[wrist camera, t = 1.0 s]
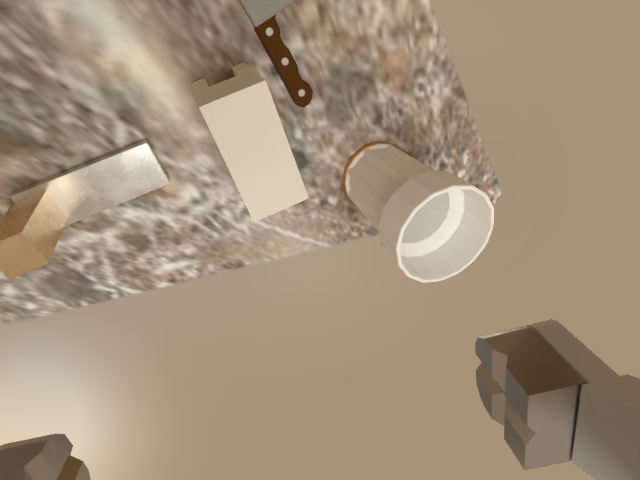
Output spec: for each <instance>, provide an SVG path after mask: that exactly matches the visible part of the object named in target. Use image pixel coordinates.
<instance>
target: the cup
mask: <svg viewBox="0 0 640 480" xmlns="http://www.w3.org/2000/svg"><path fill="white" fill-rule="evenodd" d="M343 183H344V188H345V192H346V194H347V195H348V196H349V197H350V199H351V200H352V201H353V202H354V203H355V205H356V206H357V207H358V208H359V209H360V211H361V212H362V213H363V214H364V216H365V217H366V218H367V219H368V220H369V222H370V223H371V224H372V225H373V226H374V228H375V229H376V230H377V231H378V233H379V234H380V239H381V244H382V245H383V247H384V248H385V249H386V250H387V252H388V253H389V254H390V255H391V257H392V258H393V259H394V261H395V262H396V263H397V264H398V265H399V267H400V268H401V269H402V270H403V271H404V273H405V274H406V275H407V276H408V277H409V278H412V279H415V280H417V281H420V282H433V281H442V280H444V279H446V278H449V277H451V276H454V275H456V274H458V273H460V272H461V271H462V270H463V269H464V268H466V267H467V266H468V265H469V264H471V263H472V262H473V261H474V260H475V259H476V258H477V256H478V255H479V254H480V252H481V251H482V250H483V249H484V247H485V246H486V244H487V242H488V240H489V237H490V234H491V232H492V229H493V226H494V207H493V205H492V203H491V201H490V199H489V198H488V196H487V194H486V193H484V192H483V191H481V190H479V189H478V188H476V187H474V186H473V185H471V184H469V183H467V182H466V181H464V180H462V179H460V178H458V177H457V176H455V175H453V174H451V173H449V172H448V171H435V170H433V169H432V168H430V167H428V166H427V165H425V164H423V163H421V162H420V161H418V160H416V159H415V158H413V157H411V156H409V155H408V154H406V153H404V152H403V151H401V150H399V149H397V148H396V147H394V146H393V145H391V144H389V143H384V142H375V143H372V144H369V145H366V146H363V147H362V148H361V149H360V150H358V151H357V152H356V153H355V154H354V155H353V156H352V157H351V159H350V160H349V162H348V164H347V166H346V167H345V171H344V178H343Z"/></svg>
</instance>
